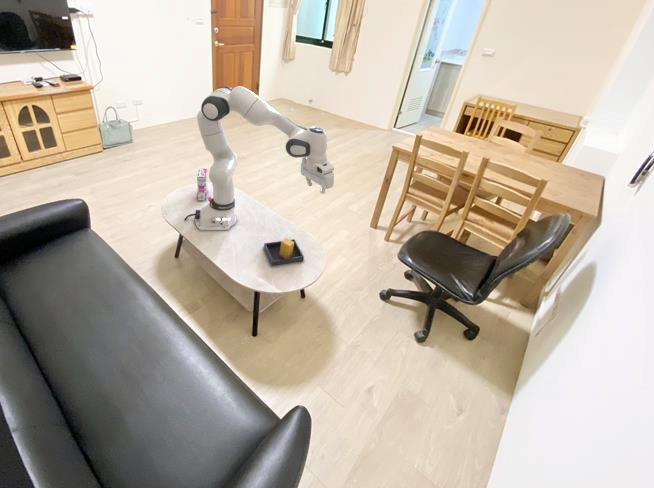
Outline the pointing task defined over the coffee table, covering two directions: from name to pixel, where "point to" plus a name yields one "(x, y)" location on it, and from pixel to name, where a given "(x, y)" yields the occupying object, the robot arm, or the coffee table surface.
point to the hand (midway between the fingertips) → (315, 189)
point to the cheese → (286, 248)
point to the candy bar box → (202, 184)
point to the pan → (276, 259)
